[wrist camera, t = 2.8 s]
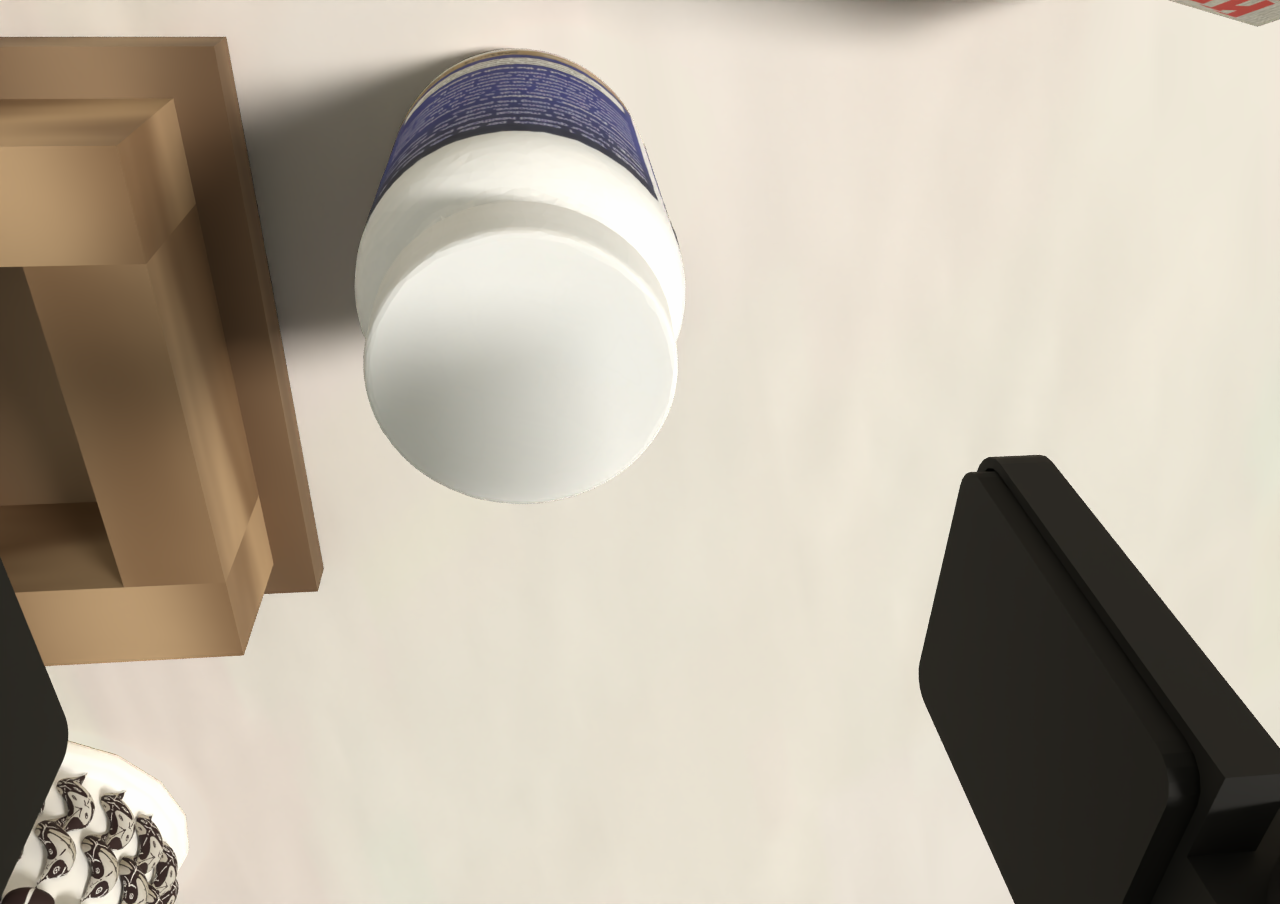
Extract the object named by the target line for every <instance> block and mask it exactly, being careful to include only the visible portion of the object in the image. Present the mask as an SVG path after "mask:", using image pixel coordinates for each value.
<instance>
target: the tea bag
mask: <svg viewBox="0 0 1280 904" xmlns="http://www.w3.org/2000/svg"><path fill="white" fill-rule="evenodd" d="M1170 1H1173V2H1176V3H1180V4H1183V5H1186V6H1190V7H1193V8H1197V9H1200V10H1203V11H1207V12H1210V13H1213V14H1217V15H1220V16H1223V17H1227V18H1230V19H1234V20H1237V21H1240V22H1244V23H1247V24H1250V25H1254V26H1257V27H1258V26H1261V25H1264V24H1267V23H1270V22H1273V21H1276V20H1279V19H1280V0H1170Z"/></svg>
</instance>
